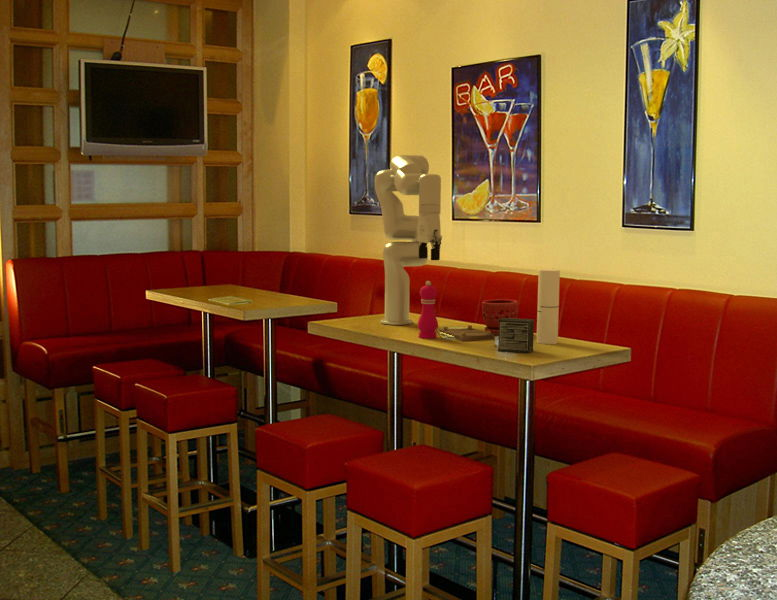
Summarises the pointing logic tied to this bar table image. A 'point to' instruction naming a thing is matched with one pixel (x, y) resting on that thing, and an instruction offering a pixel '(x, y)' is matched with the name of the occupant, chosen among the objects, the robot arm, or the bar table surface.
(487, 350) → the bar table surface
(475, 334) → the serving board
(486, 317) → the plant pot
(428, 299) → the pepper mill
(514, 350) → the small box
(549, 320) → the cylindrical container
